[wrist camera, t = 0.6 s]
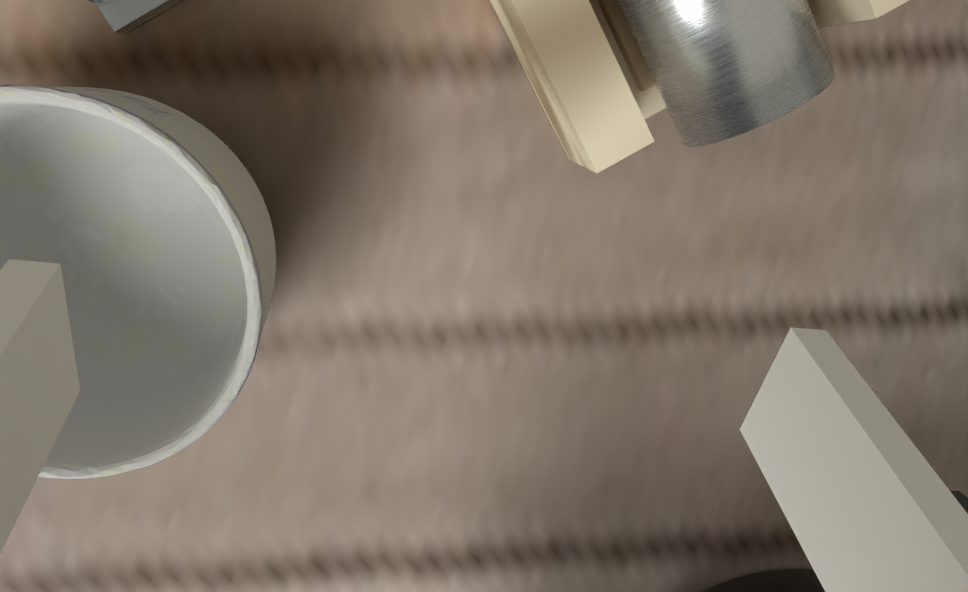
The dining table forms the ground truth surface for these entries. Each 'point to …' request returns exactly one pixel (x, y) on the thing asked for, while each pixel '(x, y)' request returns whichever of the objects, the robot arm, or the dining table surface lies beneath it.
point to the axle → (729, 61)
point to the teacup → (137, 265)
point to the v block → (131, 12)
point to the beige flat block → (608, 69)
